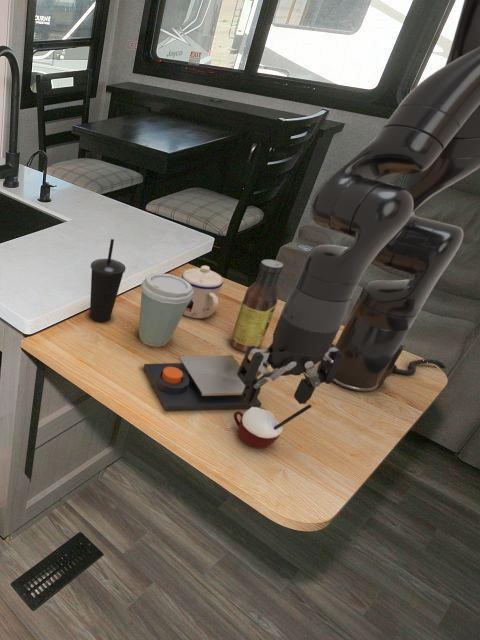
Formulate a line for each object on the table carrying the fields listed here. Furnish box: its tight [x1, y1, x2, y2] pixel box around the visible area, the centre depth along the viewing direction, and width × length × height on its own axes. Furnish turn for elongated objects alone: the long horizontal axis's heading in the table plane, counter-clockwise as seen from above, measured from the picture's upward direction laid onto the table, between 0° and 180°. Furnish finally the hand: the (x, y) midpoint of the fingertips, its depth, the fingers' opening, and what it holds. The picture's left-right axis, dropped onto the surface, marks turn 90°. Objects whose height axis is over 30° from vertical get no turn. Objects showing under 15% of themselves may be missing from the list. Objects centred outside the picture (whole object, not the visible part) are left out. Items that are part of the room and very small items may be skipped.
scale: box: [142, 362, 262, 412], centre depth 102 cm, size 18×13×3 cm
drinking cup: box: [89, 238, 127, 324], centre depth 119 cm, size 8×8×20 cm
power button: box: [162, 367, 183, 384], centre depth 101 cm, size 4×4×2 cm
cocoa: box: [233, 404, 312, 449], centre depth 87 cm, size 10×6×12 cm, turn 10°
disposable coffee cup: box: [138, 272, 194, 348], centre depth 112 cm, size 11×11×15 cm
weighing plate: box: [178, 354, 261, 396], centre depth 101 cm, size 11×12×1 cm
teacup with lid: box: [181, 265, 224, 319], centre depth 123 cm, size 12×9×12 cm
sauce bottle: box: [230, 258, 284, 353], centre depth 109 cm, size 6×6×20 cm
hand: (273, 401), depth 85 cm, fingers open, 8 cm apart
